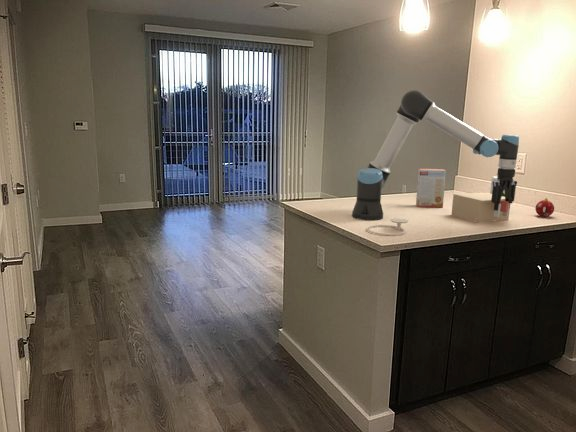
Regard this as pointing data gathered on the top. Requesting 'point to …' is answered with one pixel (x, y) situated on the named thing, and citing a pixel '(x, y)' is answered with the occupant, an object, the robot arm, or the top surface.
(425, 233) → the top surface
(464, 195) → the lid flap
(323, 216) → the top surface
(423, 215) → the top surface
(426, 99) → the robot arm
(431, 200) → the cracker box
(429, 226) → the top surface
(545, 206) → the christmas ornament
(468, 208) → the carton
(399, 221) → the hand towel holder
